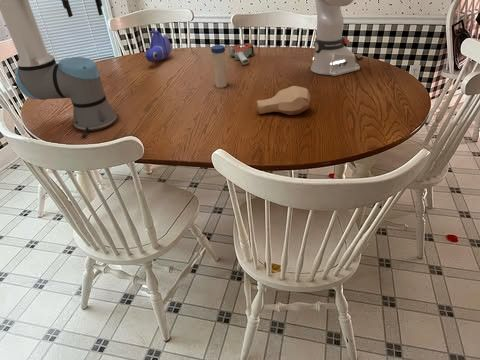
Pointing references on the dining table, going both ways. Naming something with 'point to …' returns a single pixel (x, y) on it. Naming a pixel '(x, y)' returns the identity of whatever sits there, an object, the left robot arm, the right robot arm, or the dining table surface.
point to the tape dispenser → (242, 52)
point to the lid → (217, 49)
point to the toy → (158, 48)
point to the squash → (286, 101)
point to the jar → (219, 69)
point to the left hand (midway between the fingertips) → (85, 15)
